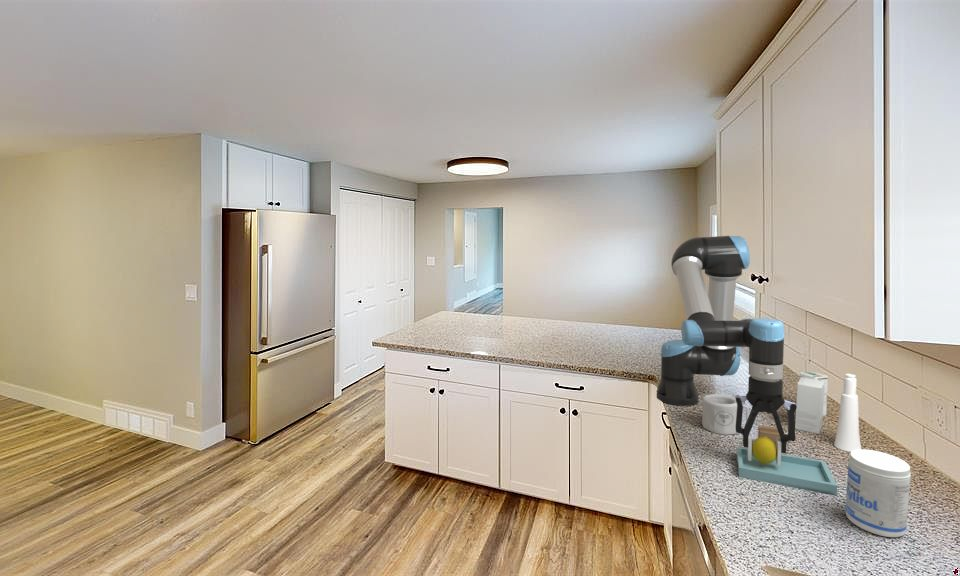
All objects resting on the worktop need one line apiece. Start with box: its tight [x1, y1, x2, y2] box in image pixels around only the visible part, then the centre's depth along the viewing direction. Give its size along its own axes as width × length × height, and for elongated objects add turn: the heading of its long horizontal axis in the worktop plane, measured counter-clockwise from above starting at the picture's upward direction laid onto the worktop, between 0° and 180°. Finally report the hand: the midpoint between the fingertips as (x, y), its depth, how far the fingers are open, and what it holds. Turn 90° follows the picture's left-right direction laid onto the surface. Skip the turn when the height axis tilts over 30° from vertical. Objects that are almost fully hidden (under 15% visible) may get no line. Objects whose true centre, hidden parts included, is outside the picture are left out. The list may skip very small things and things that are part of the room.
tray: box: [736, 446, 838, 496], centre depth 111 cm, size 13×20×2 cm, turn 61°
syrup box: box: [799, 371, 829, 417], centre depth 146 cm, size 6×6×14 cm
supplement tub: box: [845, 448, 912, 538], centre depth 89 cm, size 10×10×15 cm
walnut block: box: [757, 424, 780, 446], centre depth 123 cm, size 5×5×6 cm
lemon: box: [752, 436, 777, 465], centre depth 113 cm, size 6×6×8 cm
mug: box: [701, 393, 750, 436], centre depth 138 cm, size 14×11×10 cm
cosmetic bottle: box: [833, 373, 862, 453], centre depth 122 cm, size 6×6×22 cm
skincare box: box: [795, 377, 825, 435], centre depth 136 cm, size 8×7×16 cm
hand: (763, 460), depth 113 cm, fingers open, 6 cm apart
